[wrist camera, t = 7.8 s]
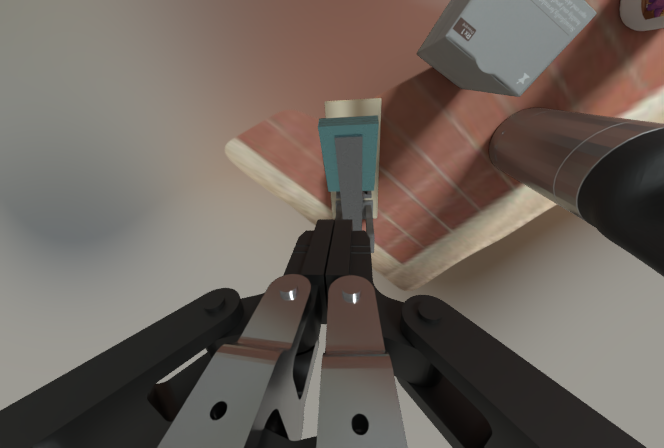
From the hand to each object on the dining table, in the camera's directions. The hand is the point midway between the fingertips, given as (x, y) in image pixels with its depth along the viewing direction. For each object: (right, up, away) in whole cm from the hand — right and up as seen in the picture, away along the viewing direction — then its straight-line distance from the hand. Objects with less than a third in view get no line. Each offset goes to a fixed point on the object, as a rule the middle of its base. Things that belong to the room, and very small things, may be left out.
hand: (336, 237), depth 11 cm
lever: (+3, +6, +22) cm, 23 cm away
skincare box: (+15, +23, +20) cm, 35 cm away
